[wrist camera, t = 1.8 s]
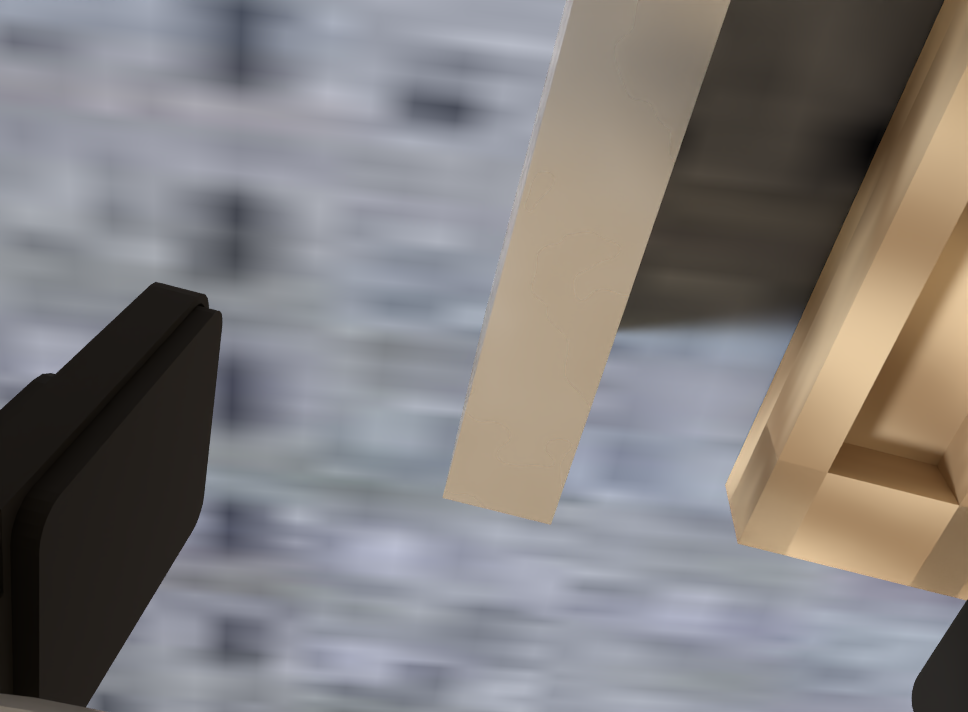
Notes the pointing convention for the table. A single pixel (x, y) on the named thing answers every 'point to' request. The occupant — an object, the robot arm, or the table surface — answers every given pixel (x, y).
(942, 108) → the rack
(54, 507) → the robot arm
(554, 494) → the blanking panel
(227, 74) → the table surface
